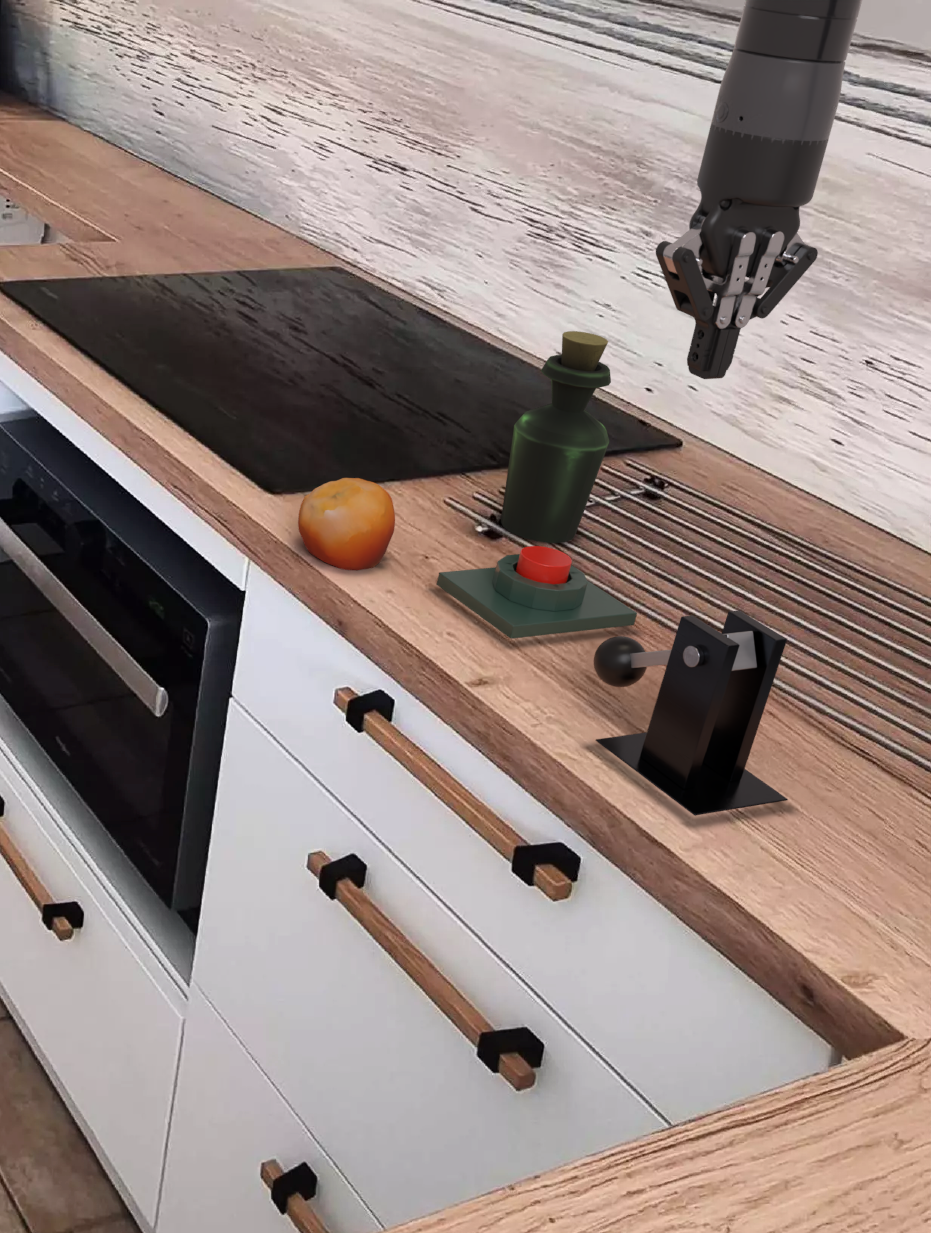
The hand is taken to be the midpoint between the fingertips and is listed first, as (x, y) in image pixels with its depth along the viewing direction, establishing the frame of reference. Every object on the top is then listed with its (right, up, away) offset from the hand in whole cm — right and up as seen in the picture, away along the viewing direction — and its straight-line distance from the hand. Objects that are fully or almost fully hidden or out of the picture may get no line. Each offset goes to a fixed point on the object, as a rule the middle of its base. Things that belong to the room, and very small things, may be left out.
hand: (705, 375), depth 127 cm
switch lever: (-5, -22, -6) cm, 23 cm away
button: (-8, -13, +14) cm, 21 cm away
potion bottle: (-3, -9, +33) cm, 34 cm away
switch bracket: (-4, -29, -6) cm, 30 cm away
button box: (-8, -17, +16) cm, 24 cm away
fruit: (-22, -12, +23) cm, 34 cm away
